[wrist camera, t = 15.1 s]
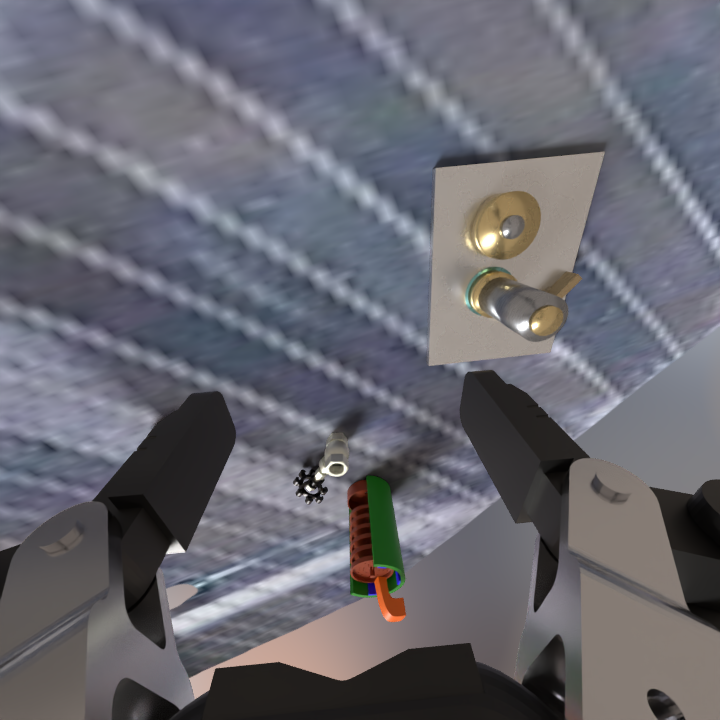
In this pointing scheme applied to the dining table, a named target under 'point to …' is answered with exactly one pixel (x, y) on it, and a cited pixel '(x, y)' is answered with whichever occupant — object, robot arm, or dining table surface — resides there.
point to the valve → (325, 468)
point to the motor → (375, 546)
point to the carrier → (502, 245)
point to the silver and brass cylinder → (518, 305)
